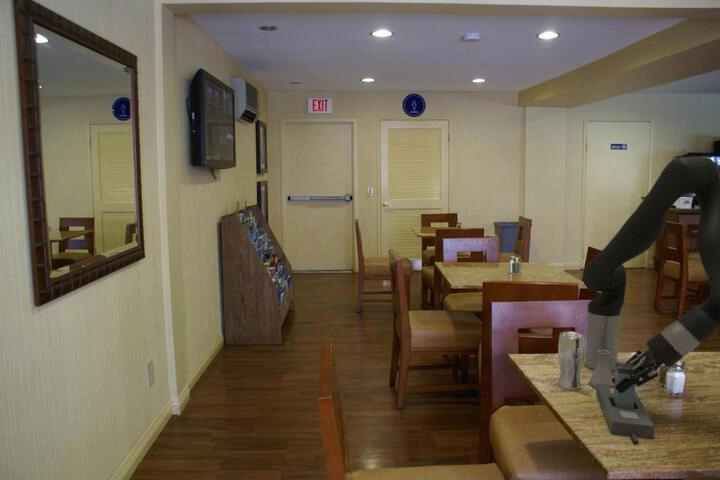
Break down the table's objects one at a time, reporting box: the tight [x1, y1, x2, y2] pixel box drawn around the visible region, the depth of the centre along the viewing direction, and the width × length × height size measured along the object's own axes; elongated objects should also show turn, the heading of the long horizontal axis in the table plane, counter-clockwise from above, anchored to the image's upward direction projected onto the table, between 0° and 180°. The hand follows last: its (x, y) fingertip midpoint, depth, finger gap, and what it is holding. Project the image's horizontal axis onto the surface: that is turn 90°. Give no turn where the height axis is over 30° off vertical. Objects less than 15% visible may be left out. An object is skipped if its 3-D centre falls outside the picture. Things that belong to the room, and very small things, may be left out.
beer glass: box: [557, 331, 586, 391], centre depth 160 cm, size 7×7×15 cm
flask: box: [588, 350, 614, 389], centre depth 162 cm, size 7×7×10 cm
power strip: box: [595, 383, 655, 445], centre depth 141 cm, size 28×9×4 cm, turn 166°
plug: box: [613, 362, 636, 409], centre depth 142 cm, size 4×4×10 cm
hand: (616, 386), depth 143 cm, fingers closed on plug, 4 cm apart
